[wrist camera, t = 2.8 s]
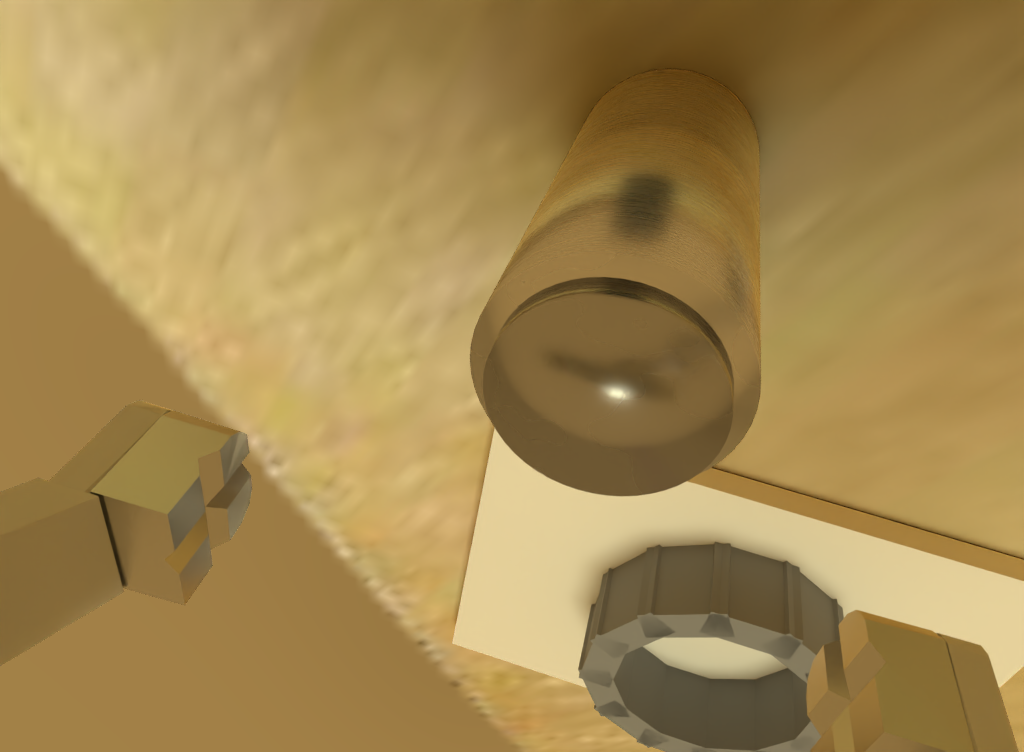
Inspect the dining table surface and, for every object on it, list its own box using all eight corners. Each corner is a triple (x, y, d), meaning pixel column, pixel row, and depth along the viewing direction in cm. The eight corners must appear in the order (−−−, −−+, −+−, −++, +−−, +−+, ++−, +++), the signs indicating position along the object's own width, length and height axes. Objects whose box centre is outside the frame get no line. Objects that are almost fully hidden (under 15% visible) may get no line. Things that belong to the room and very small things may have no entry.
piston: (788, 94, 19) (813, 325, 10) (723, 262, 22) (703, 544, 13) (599, 48, 19) (479, 234, 11) (561, 219, 22) (445, 465, 14)
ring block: (1084, 577, 25) (1130, 687, 22) (885, 764, 34) (898, 861, 31) (502, 406, 27) (469, 484, 24) (458, 625, 36) (430, 703, 33)
